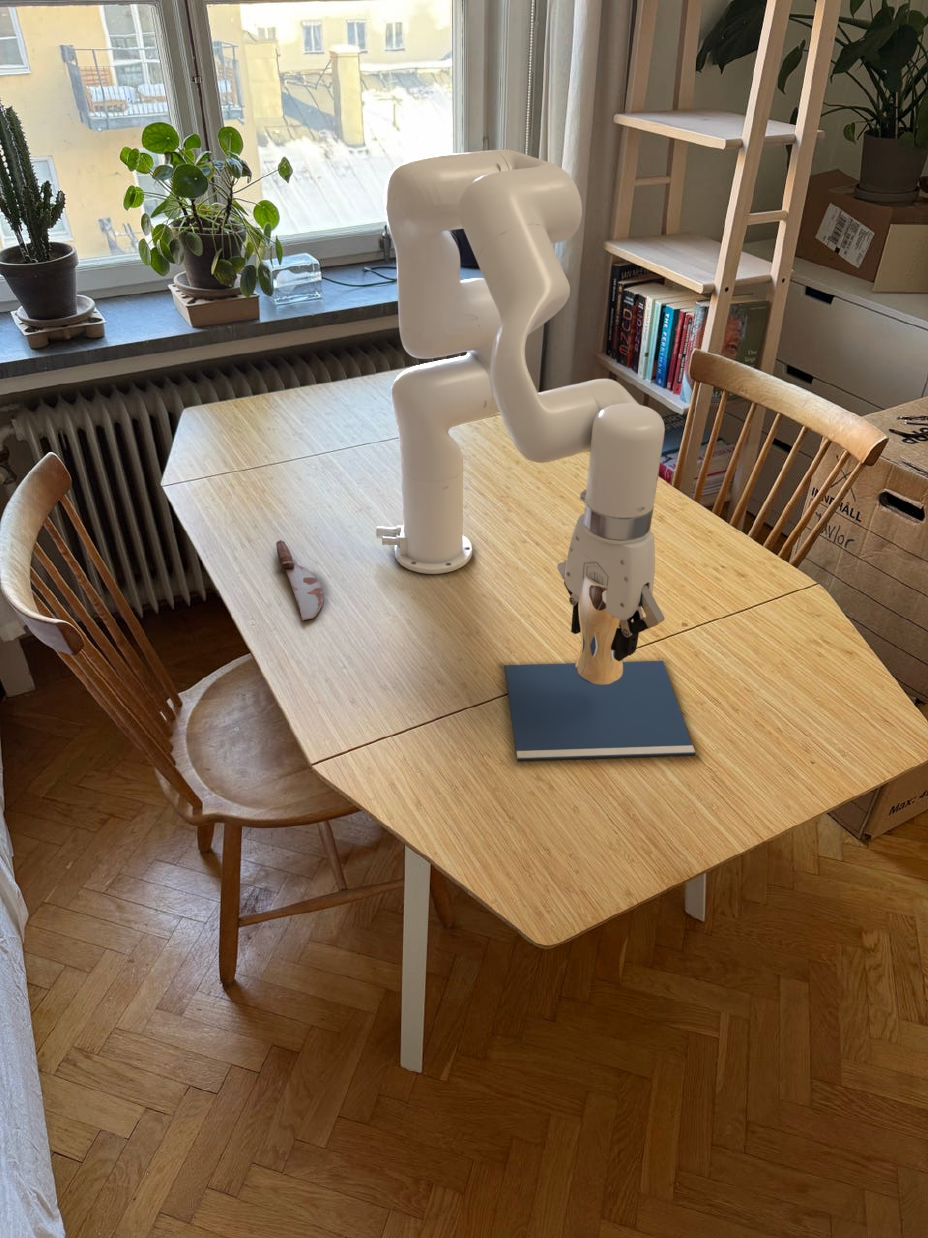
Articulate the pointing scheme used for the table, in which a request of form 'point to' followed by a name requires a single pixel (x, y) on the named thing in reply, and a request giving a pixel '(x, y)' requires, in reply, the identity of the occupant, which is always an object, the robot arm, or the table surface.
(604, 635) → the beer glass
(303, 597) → the kitchen knife
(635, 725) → the blue hardcover book
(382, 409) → the table surface
